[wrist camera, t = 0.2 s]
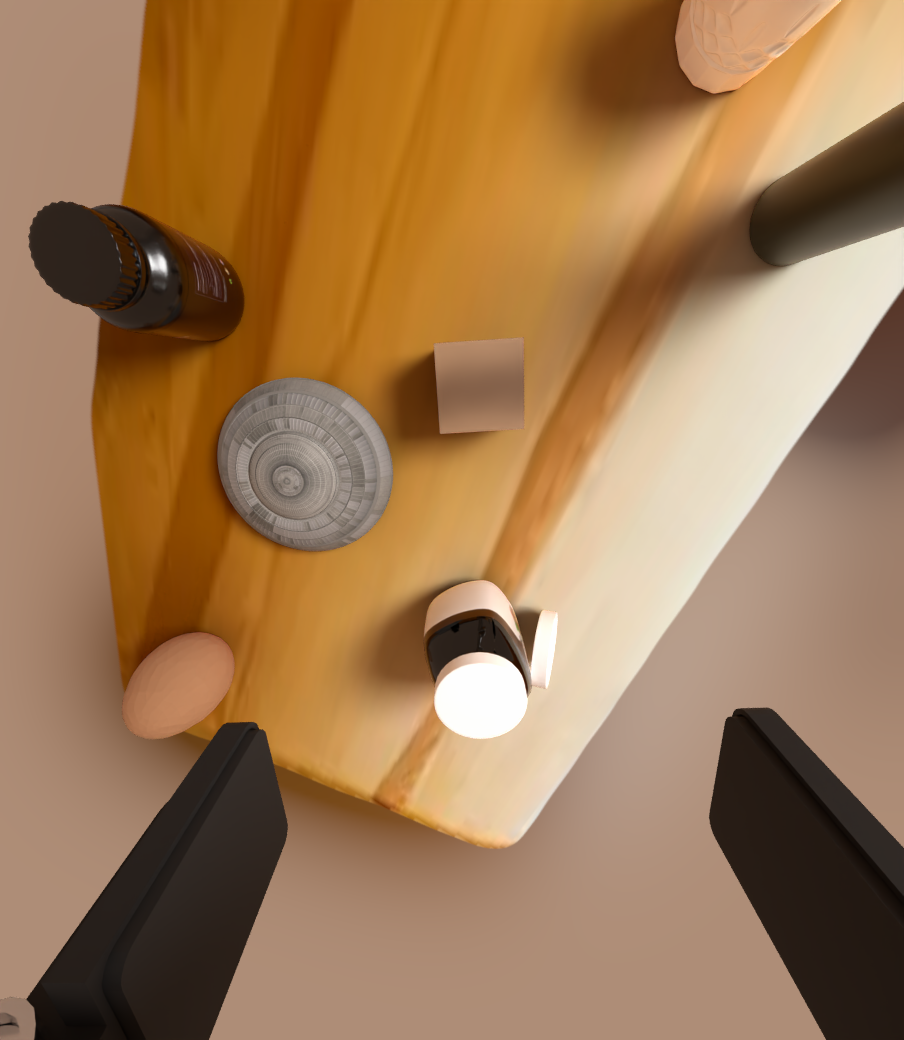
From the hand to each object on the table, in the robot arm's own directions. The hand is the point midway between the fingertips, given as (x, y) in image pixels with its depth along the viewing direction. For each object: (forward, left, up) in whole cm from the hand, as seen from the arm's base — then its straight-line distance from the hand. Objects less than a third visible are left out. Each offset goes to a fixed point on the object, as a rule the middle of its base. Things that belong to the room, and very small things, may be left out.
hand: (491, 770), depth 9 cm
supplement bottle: (-15, -20, -30) cm, 39 cm away
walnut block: (-7, +1, -30) cm, 31 cm away
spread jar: (+15, +2, -30) cm, 34 cm away
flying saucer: (-1, -14, -31) cm, 34 cm away
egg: (+17, -27, -30) cm, 44 cm away
